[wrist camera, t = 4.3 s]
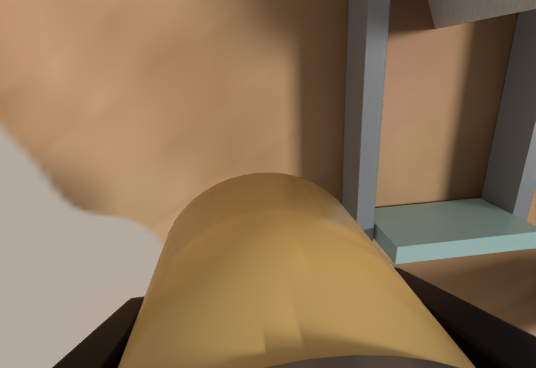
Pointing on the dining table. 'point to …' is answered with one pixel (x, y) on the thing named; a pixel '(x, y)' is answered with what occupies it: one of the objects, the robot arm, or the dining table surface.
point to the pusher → (449, 230)
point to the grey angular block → (474, 10)
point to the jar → (280, 288)
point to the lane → (370, 115)
